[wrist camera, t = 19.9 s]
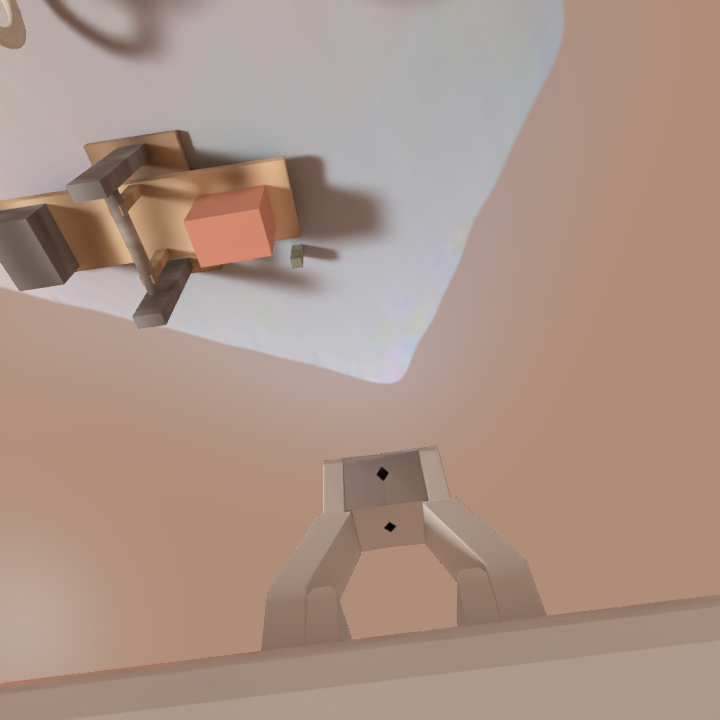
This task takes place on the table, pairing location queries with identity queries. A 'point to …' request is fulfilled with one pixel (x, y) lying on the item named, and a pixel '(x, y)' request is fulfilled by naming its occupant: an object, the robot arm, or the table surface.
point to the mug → (13, 27)
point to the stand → (136, 162)
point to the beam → (127, 223)
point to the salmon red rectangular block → (231, 226)
